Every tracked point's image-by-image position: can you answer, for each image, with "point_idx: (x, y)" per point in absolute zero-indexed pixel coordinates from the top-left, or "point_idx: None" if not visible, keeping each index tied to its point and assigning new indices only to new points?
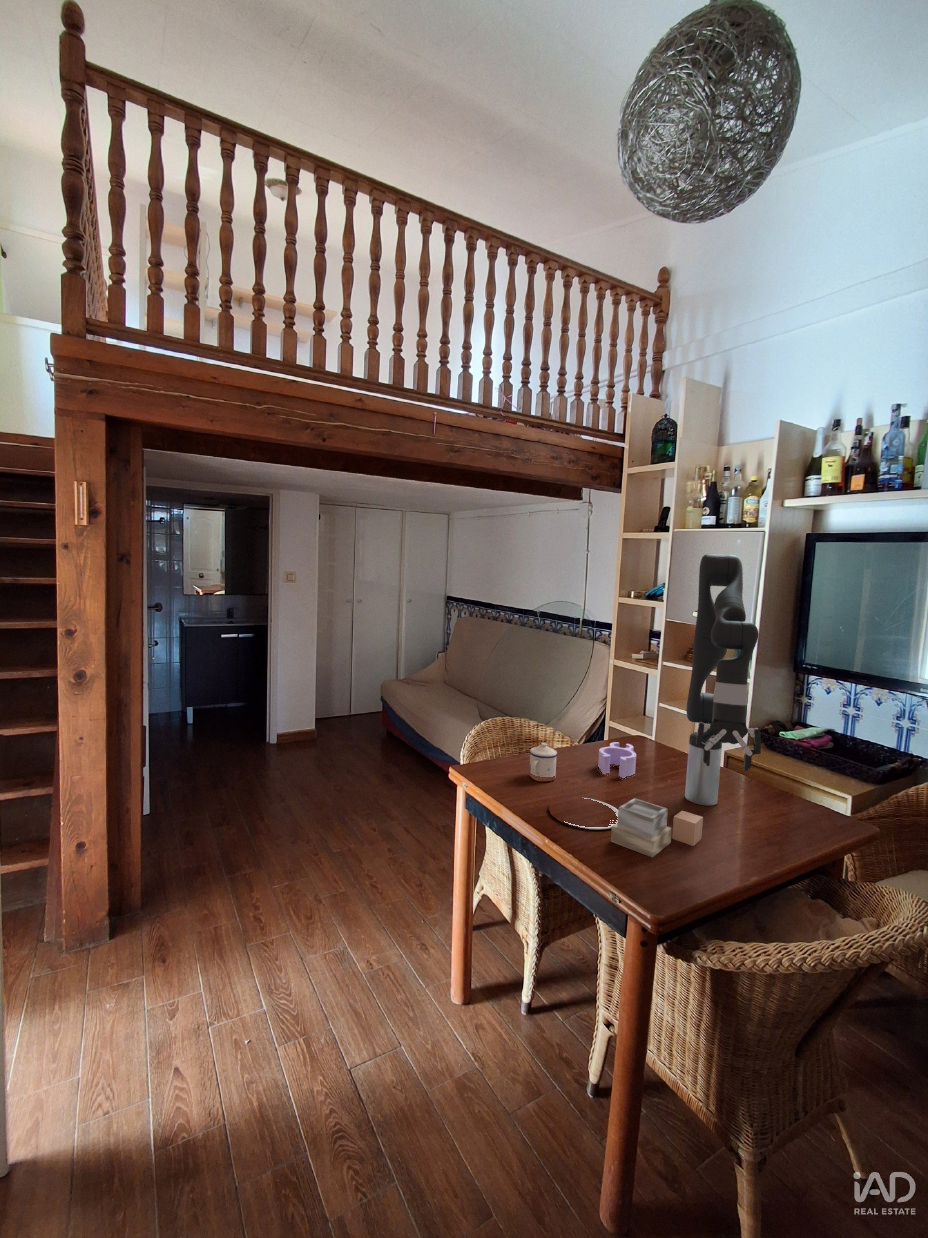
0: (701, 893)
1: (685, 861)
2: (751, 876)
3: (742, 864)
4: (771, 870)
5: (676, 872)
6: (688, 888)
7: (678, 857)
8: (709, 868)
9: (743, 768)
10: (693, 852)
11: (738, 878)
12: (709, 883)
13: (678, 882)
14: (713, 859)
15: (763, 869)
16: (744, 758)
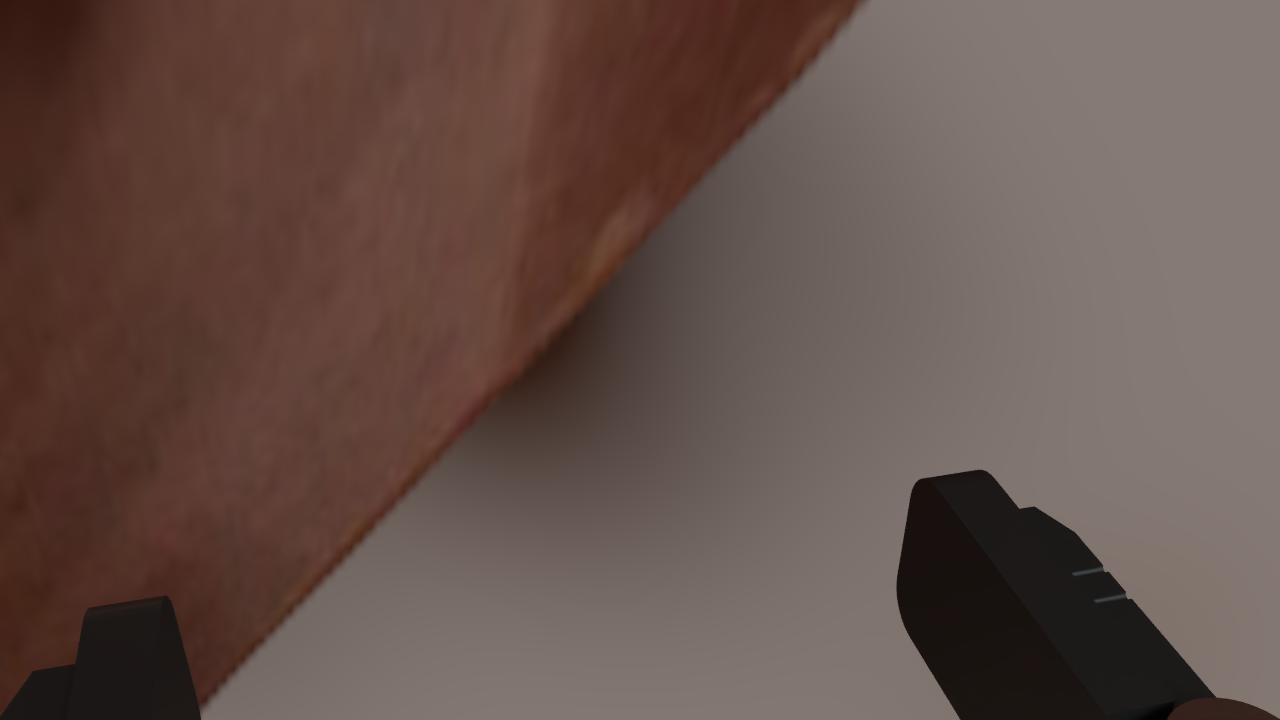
0: (268, 559)
1: (94, 232)
2: (606, 215)
3: (569, 52)
4: (782, 46)
5: (65, 422)
6: (184, 551)
7: (19, 193)
8: (300, 249)
9: (926, 479)
10: (132, 25)
11: (508, 287)
12: (310, 440)
13: (109, 525)
14: (327, 79)
15: (723, 59)
16: (1035, 694)
